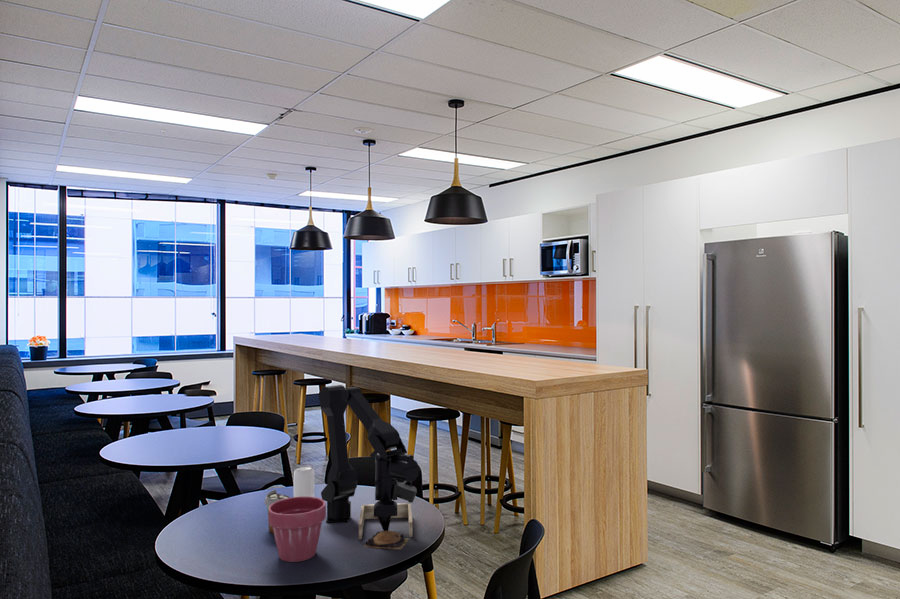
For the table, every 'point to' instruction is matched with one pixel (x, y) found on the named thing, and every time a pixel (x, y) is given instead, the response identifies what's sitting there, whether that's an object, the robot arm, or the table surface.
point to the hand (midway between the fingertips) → (386, 531)
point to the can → (304, 481)
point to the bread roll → (387, 540)
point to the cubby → (402, 512)
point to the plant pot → (297, 526)
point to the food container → (271, 499)
